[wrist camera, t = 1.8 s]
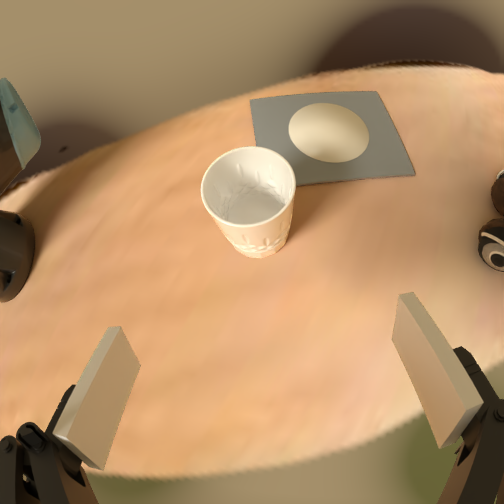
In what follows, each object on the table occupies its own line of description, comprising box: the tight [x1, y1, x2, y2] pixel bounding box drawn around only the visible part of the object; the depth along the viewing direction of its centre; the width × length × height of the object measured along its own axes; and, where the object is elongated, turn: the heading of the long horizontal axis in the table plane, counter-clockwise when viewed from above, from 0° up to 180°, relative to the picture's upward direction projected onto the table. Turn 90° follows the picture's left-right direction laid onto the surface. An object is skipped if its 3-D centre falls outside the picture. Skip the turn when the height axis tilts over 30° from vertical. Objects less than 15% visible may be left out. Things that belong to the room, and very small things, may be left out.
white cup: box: [201, 146, 296, 258], centre depth 29 cm, size 8×8×10 cm
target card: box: [250, 91, 415, 186], centre depth 37 cm, size 20×16×1 cm
